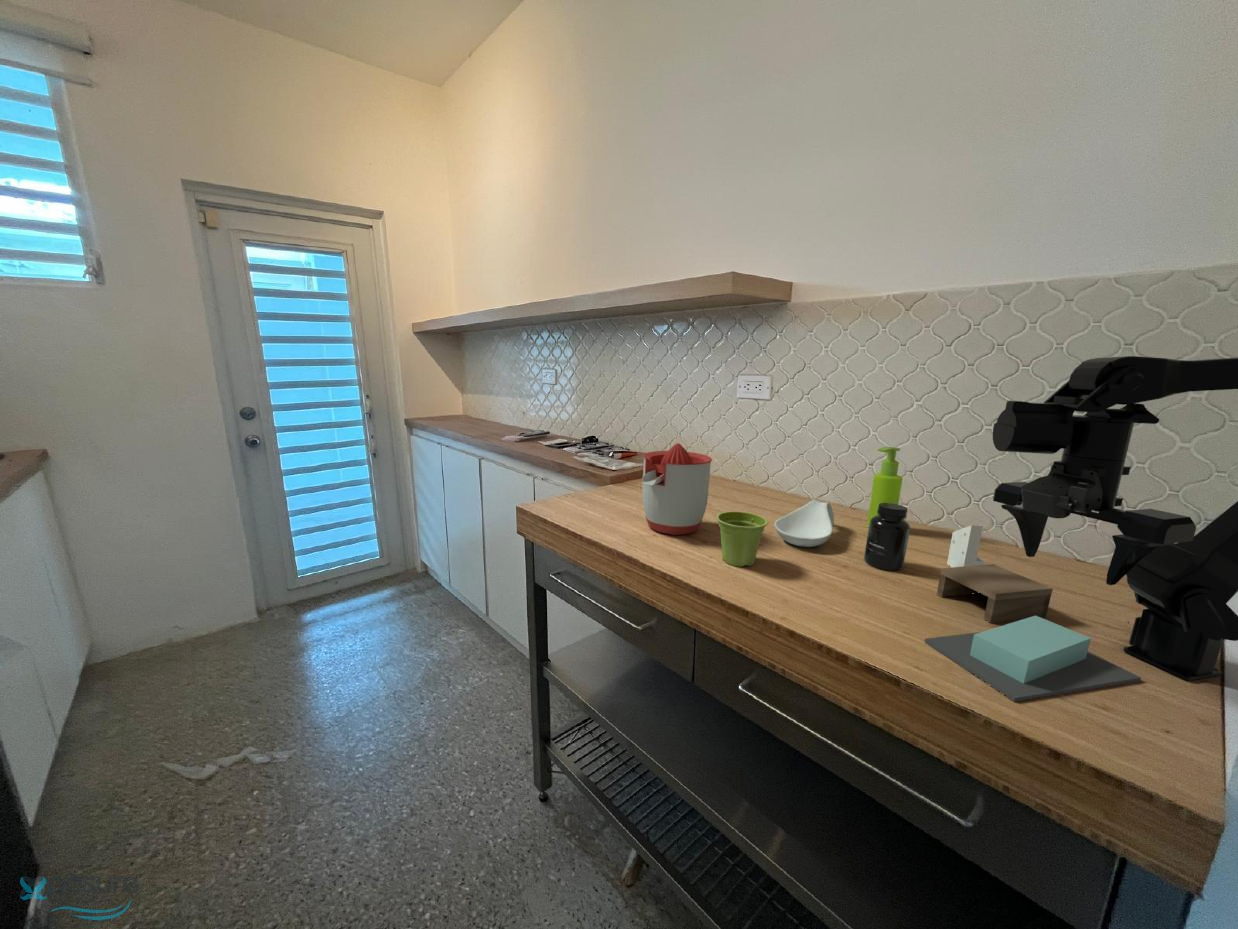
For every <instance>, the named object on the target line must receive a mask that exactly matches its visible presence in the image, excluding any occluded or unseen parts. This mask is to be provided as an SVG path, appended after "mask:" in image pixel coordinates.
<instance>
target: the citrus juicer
mask: <svg viewBox="0 0 1238 929" xmlns="http://www.w3.org/2000/svg"><path fill="white" fill-rule="evenodd" d="M642 458H643V473H642V478H641V482H642V506H643V510H644V514H645V519H646V522H647V524H648V527H649V528H650V529H652V530H654V531H655V532H658V533H663V534H669V535H672V536H679V535H688V534H692V533H695V532H697V531H698V530H699V528H700V526H701V525H702V521H703V518H704V515H705V513H706V510H707V506H708V499H709V487H710V475H711V474H710V473H711V463H712V461H713V459H712V457H710V456H709V455H707V454H702V453H697V452H690V451H687V450H686V449H685V447H683V445H682V444H680V443H676V444H675V443H674V445H673V446H671V447H670V449H669V450H656V451H648V452H645V453H643V455H642Z"/></svg>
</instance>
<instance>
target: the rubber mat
mask: <svg viewBox="0 0 1238 929" xmlns="http://www.w3.org/2000/svg"><path fill="white" fill-rule="evenodd" d="M980 632H981V631H979V632H972V633H971V632H970V633H962V634H955V635H953V634H952V635H945V636H937V637H936V636H935V637H928V638H925V639H924V640H923V641H924V643H925V644H926V645H928V646H930V647H931V648H933V649H935V651H937V650H938V651H937V652H939V653H941V654H942V655H943V656H944V657H946V656H947V657H946V658H948V657H949V658H950V659H949V658H948V659H949V660H950V661H952V662H954V661H955V662H954V663H955V664H956V665H958V664H959V665H958V666H959V667H961V668H963V667H964V668H965V669H964V668H963V669H964V670H965V671H967V672H969V671H970V672H971V674H972V673H973V674H975V675H976V676H977V677H976V676H975V675H974V676H975V677H976V678H978V677H979V678H980V679H982V680H981V681H982V682H983V681H985V682H986V683H987V685H988V684H990V685H991V686H992V687H991V686H990V687H991V688H992V689H994V688H995V689H996V690H995V689H994V690H995V691H997V692H998V691H1000V692H1001V693H1003V694H1004V695H1006V696H1005V697H1006V698H1007V697H1008V699H1009V698H1010V699H1009V700H1010V701H1011V702H1013V703H1017V702H1022V701H1027V699H1029V700H1033V699H1032V698H1035V699H1040V698H1045V697H1044V696H1047V697H1052V696H1051V695H1053V696H1057V695H1058V696H1059V695H1065V694H1069V693H1070V692H1071V693H1077V692H1082V691H1088V690H1096V689H1099V688H1100V689H1101V688H1106V687H1113V686H1118V685H1125V684H1131V683H1137V682H1138V683H1139V682H1141V680H1142V677H1141V676H1139V675H1137V674H1135V673H1133V672H1131V671H1129V670H1127V669H1125V668H1123V667H1121V666H1118V665H1117V664H1115V663H1113V662H1112V661H1109V660H1106V659H1105V658H1102V657H1100V656H1099V655H1096V654H1094V653H1093V652H1091V651H1089V650H1088V652H1087V656H1086V659H1084V660H1082V661H1079V662H1076V663H1074V664H1071V665H1069V666H1066V667H1064V668H1061V669H1059V670H1056V671H1054V672H1051V673H1049V674H1046V675H1044V676H1041V677H1039V678H1036V679H1034V680H1031V681H1029V682H1026V683H1024V684H1023V683H1021V682H1020V681H1018V680H1016V679H1014V678H1012V677H1010V676H1008V675H1006V674H1005V673H1003V672H1001V671H999V670H997V669H995V668H993V667H991V666H989V665H988V664H986V663H984V662H982V661H980V660H978V659H976V658H974V657H973V656H971V655H970V652H971V647H972V642H973V637H974V634H977V633H980ZM970 672H969V673H970ZM973 674H972V675H973ZM979 678H978V679H979ZM980 679H979V680H980ZM985 682H984V683H985ZM986 683H985V684H986ZM1000 692H999V693H1000ZM1001 693H1000V694H1001ZM1003 694H1002V695H1003ZM1004 695H1003V696H1004ZM1038 697H1040V698H1038ZM1021 700H1022V701H1021Z"/></svg>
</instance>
